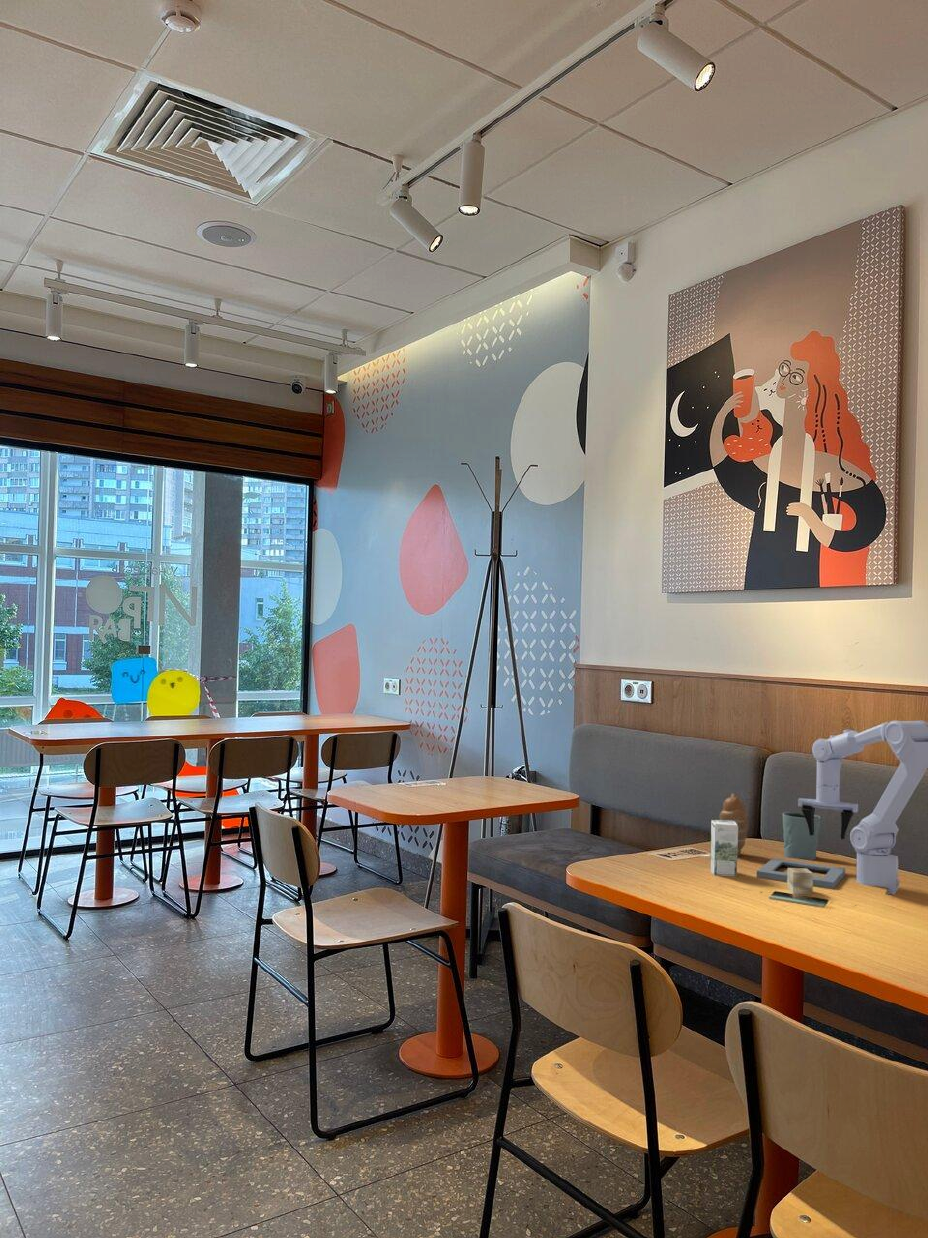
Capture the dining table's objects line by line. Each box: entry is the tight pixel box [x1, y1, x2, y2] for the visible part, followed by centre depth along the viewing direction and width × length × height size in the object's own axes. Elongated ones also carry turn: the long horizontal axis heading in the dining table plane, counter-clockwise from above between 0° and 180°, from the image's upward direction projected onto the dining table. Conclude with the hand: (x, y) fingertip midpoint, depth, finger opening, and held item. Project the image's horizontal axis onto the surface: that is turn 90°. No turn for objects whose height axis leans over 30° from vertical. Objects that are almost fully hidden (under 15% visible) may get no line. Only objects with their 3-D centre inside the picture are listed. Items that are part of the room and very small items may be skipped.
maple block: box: [786, 867, 814, 899], centre depth 214 cm, size 4×4×6 cm
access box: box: [756, 857, 846, 890], centre depth 230 cm, size 18×18×3 cm
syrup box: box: [709, 819, 738, 877], centre depth 230 cm, size 6×6×14 cm
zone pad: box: [768, 890, 830, 908], centre depth 214 cm, size 12×10×1 cm
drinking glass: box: [781, 811, 822, 861], centre depth 259 cm, size 10×10×12 cm
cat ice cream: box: [719, 792, 749, 857], centre depth 253 cm, size 9×8×18 cm
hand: (827, 836), depth 238 cm, fingers open, 7 cm apart
